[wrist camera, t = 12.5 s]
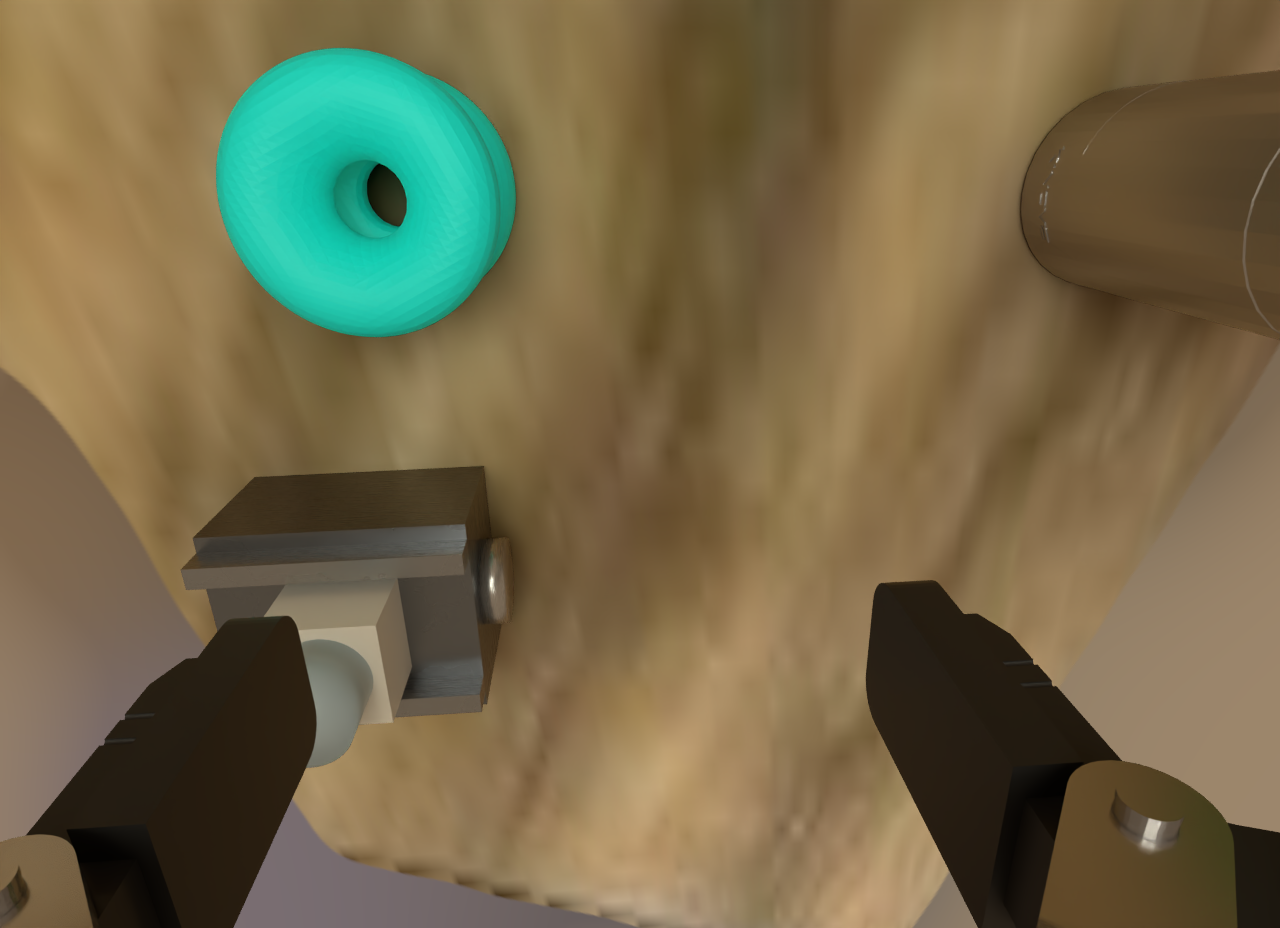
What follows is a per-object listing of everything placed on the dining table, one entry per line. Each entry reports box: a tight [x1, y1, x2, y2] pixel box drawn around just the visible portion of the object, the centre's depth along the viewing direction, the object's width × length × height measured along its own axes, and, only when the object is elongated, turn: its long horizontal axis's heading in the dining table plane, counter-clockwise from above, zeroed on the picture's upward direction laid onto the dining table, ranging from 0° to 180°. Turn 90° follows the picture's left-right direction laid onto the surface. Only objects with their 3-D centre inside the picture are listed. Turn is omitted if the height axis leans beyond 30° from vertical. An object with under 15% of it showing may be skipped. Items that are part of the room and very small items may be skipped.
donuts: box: [216, 48, 516, 337], centre depth 32 cm, size 10×10×10 cm
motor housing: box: [181, 466, 514, 717], centre depth 40 cm, size 13×10×8 cm
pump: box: [264, 578, 412, 768], centre depth 34 cm, size 5×5×7 cm
